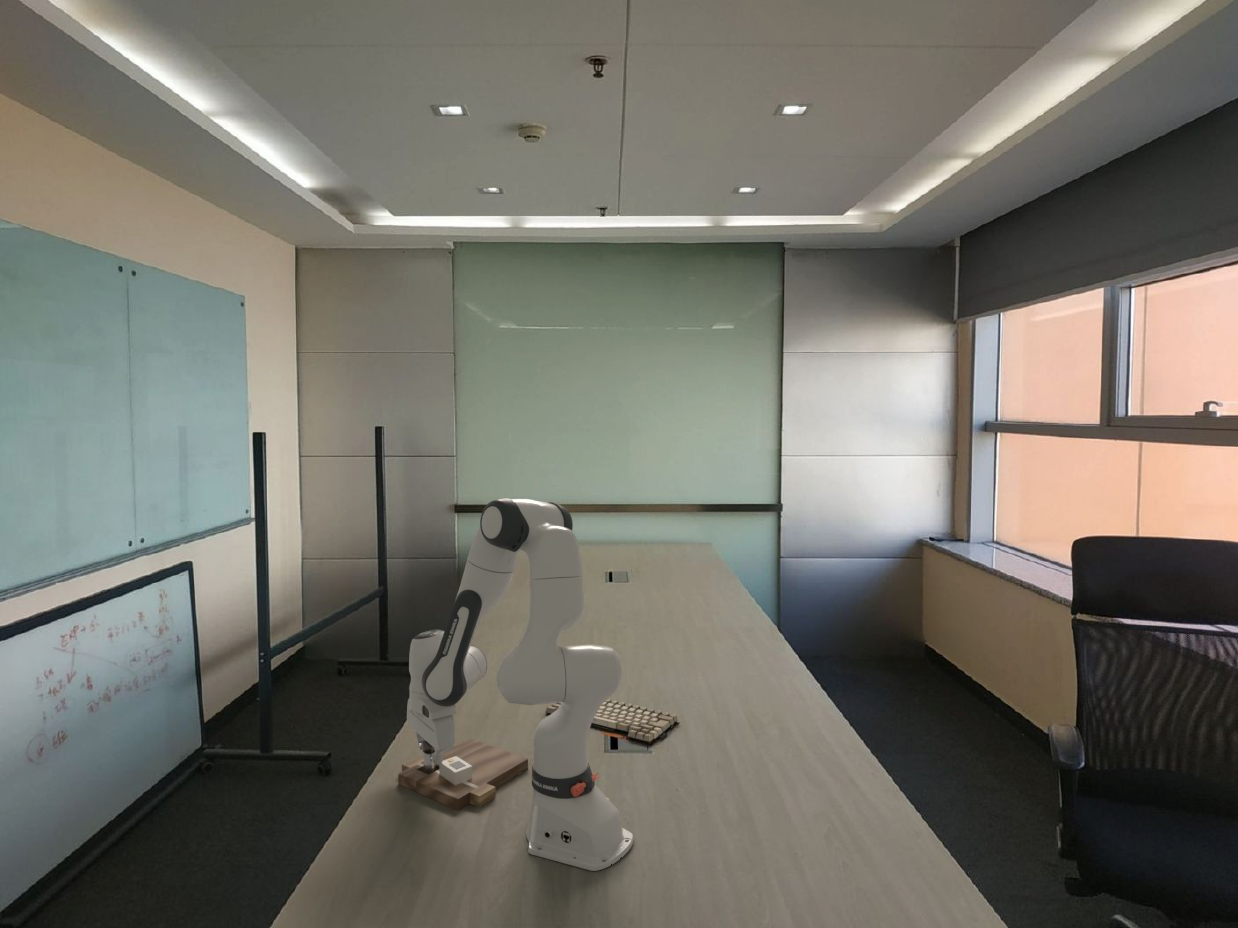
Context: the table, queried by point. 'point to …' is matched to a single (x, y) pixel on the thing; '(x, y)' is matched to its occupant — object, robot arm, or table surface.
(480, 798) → the board
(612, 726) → the mechanical keyboard
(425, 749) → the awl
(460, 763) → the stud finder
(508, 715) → the table surface
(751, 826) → the table surface
